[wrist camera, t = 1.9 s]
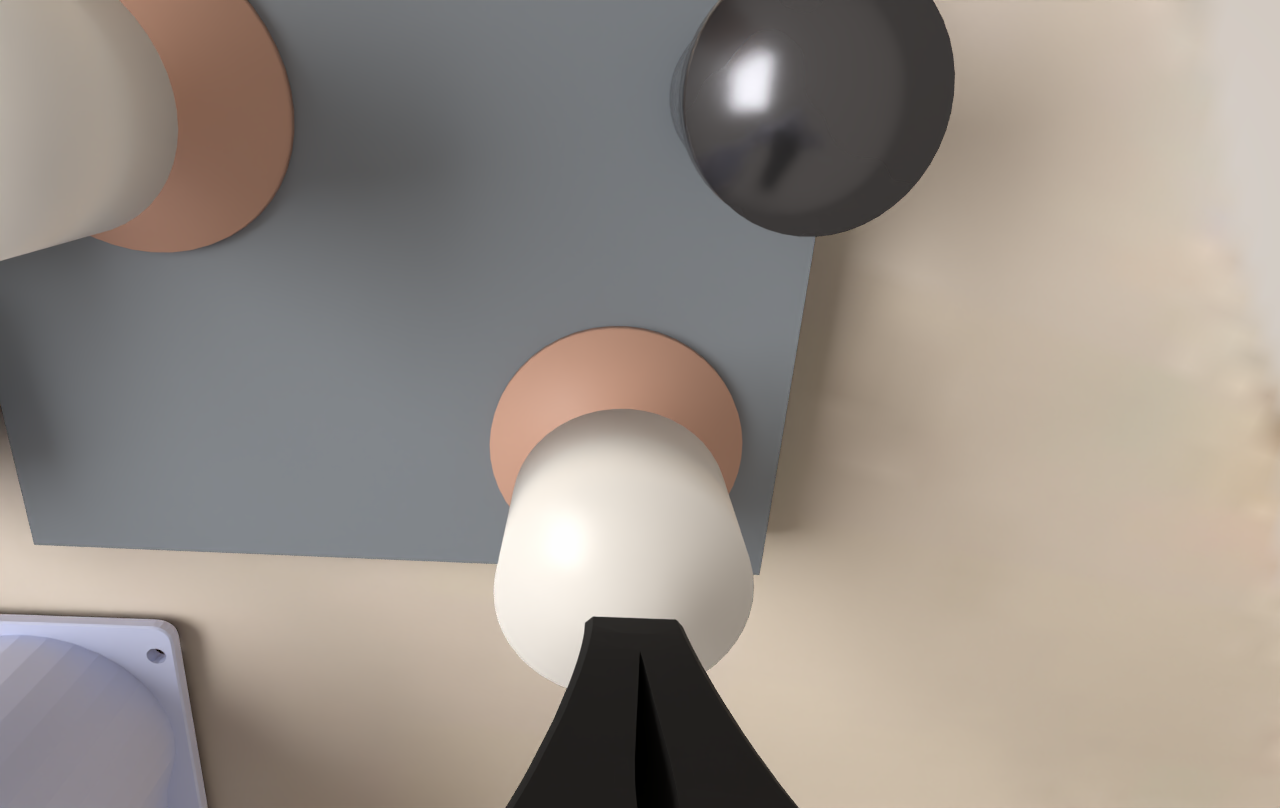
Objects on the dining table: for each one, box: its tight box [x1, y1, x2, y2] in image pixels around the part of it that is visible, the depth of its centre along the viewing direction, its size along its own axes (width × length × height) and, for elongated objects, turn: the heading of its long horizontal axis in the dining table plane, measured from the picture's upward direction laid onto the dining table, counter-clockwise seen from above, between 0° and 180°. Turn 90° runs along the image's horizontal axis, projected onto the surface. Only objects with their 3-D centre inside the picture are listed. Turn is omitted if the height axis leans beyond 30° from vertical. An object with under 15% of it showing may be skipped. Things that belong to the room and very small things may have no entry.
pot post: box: [669, 0, 955, 237], centre depth 13 cm, size 4×4×6 cm
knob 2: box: [494, 409, 754, 688], centre depth 14 cm, size 4×4×3 cm
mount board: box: [0, 0, 815, 575], centre depth 18 cm, size 14×18×2 cm
